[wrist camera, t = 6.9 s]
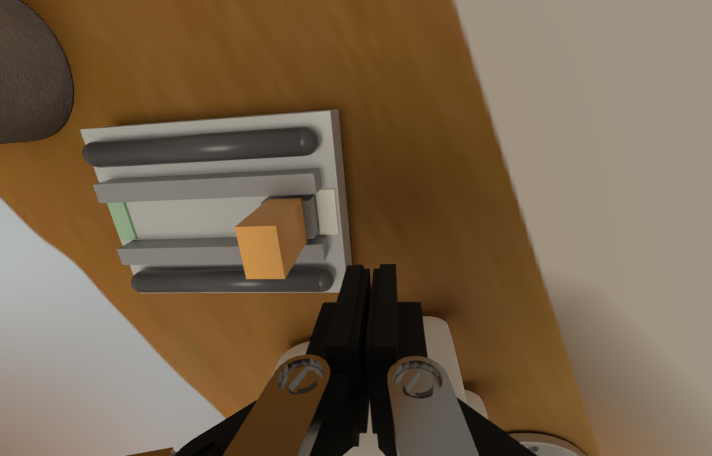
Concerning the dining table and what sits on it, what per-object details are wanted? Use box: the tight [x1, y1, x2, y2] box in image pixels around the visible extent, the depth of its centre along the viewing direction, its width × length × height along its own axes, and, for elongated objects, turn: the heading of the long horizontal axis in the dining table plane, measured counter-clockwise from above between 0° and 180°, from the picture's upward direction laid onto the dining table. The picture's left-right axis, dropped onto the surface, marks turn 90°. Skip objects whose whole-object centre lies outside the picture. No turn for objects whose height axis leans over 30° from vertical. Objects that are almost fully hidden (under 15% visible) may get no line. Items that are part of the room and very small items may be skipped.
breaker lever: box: [235, 194, 319, 279], centre depth 18 cm, size 3×3×6 cm
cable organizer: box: [270, 316, 488, 456], centre depth 24 cm, size 15×11×12 cm
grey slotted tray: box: [80, 109, 352, 293], centre depth 22 cm, size 12×16×5 cm
